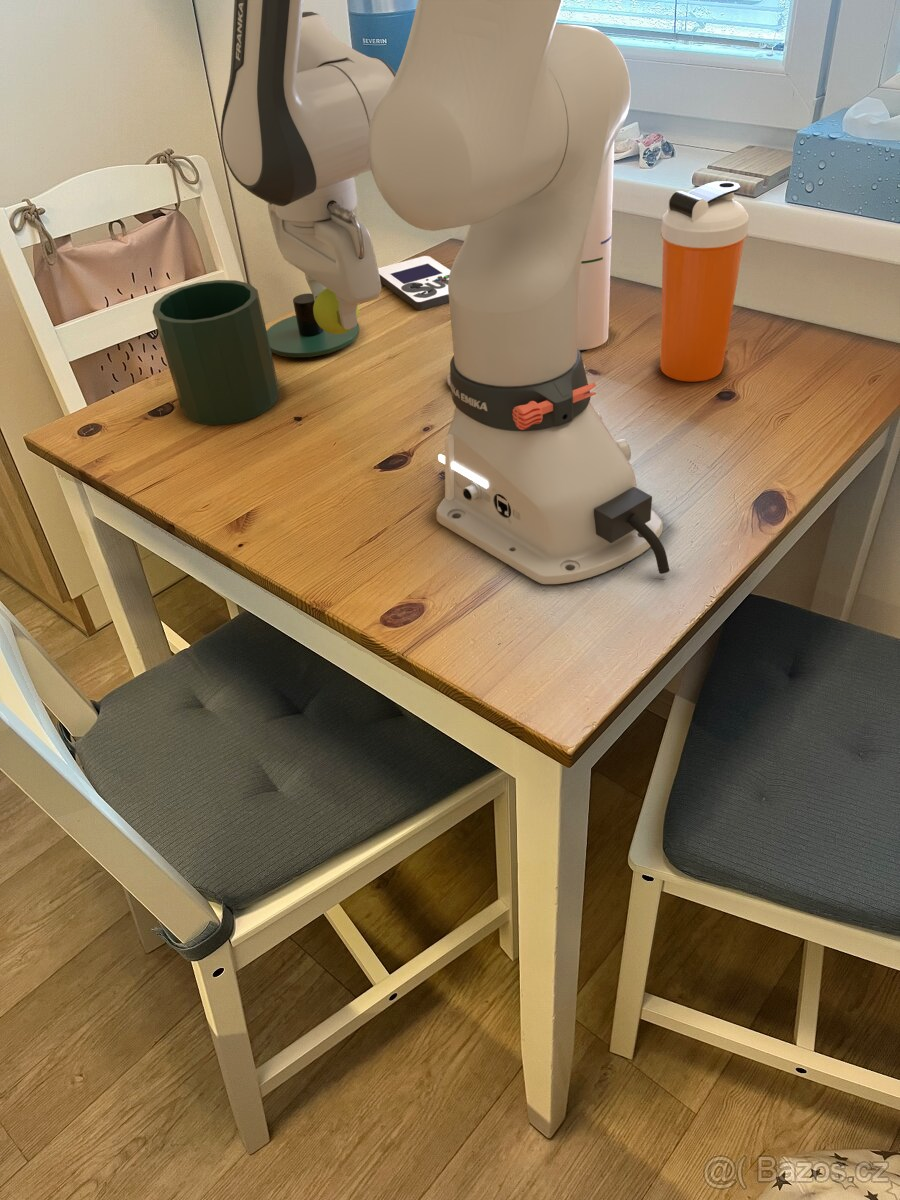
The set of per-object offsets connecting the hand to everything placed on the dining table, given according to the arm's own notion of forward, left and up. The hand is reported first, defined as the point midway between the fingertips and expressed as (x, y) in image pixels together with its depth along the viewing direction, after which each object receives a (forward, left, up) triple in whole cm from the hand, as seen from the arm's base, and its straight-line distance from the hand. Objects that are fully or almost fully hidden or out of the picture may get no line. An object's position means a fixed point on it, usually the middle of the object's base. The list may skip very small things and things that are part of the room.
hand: (336, 317), depth 108 cm
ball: (0, 0, +1) cm, 1 cm away
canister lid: (+15, -2, -8) cm, 17 cm away
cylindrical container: (-8, -29, -9) cm, 31 cm away
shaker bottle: (-23, -34, -9) cm, 42 cm away
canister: (+5, +13, -9) cm, 16 cm away
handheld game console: (+20, -22, -9) cm, 31 cm away
